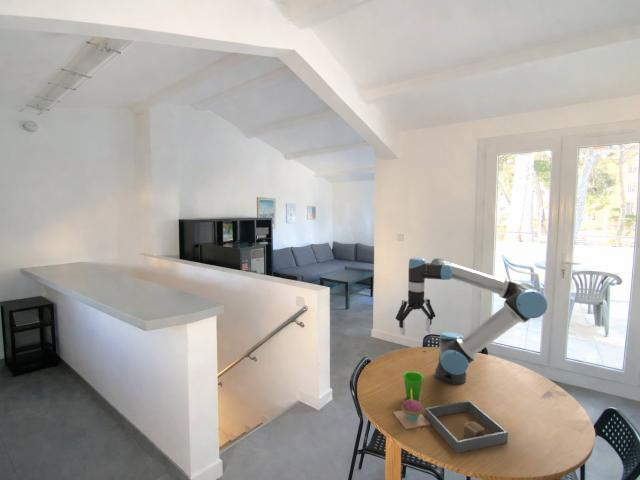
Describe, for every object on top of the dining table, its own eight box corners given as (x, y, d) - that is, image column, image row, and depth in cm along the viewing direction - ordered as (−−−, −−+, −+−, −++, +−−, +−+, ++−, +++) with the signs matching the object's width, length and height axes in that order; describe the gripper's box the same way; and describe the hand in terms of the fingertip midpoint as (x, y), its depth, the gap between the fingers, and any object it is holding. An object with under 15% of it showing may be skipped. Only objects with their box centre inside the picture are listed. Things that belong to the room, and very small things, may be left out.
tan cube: (473, 433, 133) (474, 421, 133) (484, 441, 128) (484, 429, 128) (463, 436, 131) (464, 424, 131) (474, 445, 126) (475, 432, 126)
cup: (423, 405, 151) (424, 382, 150) (402, 403, 153) (403, 380, 152) (422, 394, 160) (422, 372, 159) (402, 392, 162) (402, 370, 161)
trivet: (416, 409, 149) (416, 408, 149) (430, 425, 138) (430, 423, 138) (393, 413, 146) (393, 411, 146) (405, 429, 135) (405, 428, 135)
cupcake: (399, 412, 146) (399, 385, 145) (418, 410, 147) (418, 384, 145) (406, 424, 137) (406, 396, 136) (426, 423, 138) (427, 395, 137)
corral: (468, 409, 149) (469, 400, 148) (507, 442, 128) (507, 432, 127) (424, 416, 143) (425, 407, 143) (457, 452, 123) (457, 442, 122)
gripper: (434, 286, 171) (433, 327, 173) (389, 290, 164) (388, 332, 167) (443, 290, 163) (442, 332, 165) (396, 293, 157) (395, 338, 159)
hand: (415, 332), depth 166 cm, fingers open, 13 cm apart
